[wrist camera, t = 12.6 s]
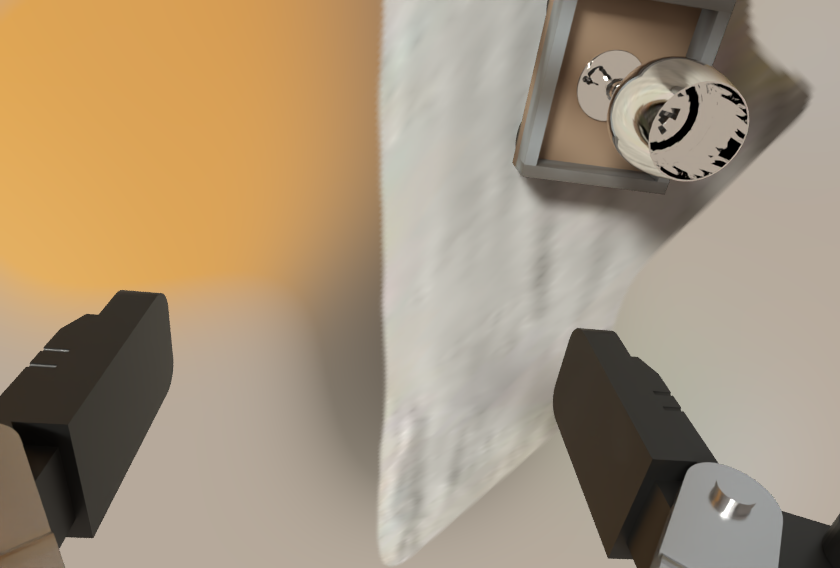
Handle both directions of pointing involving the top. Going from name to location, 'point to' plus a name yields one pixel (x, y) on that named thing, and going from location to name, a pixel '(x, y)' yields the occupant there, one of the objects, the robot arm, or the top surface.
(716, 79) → the wineglass
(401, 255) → the top surface
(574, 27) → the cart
